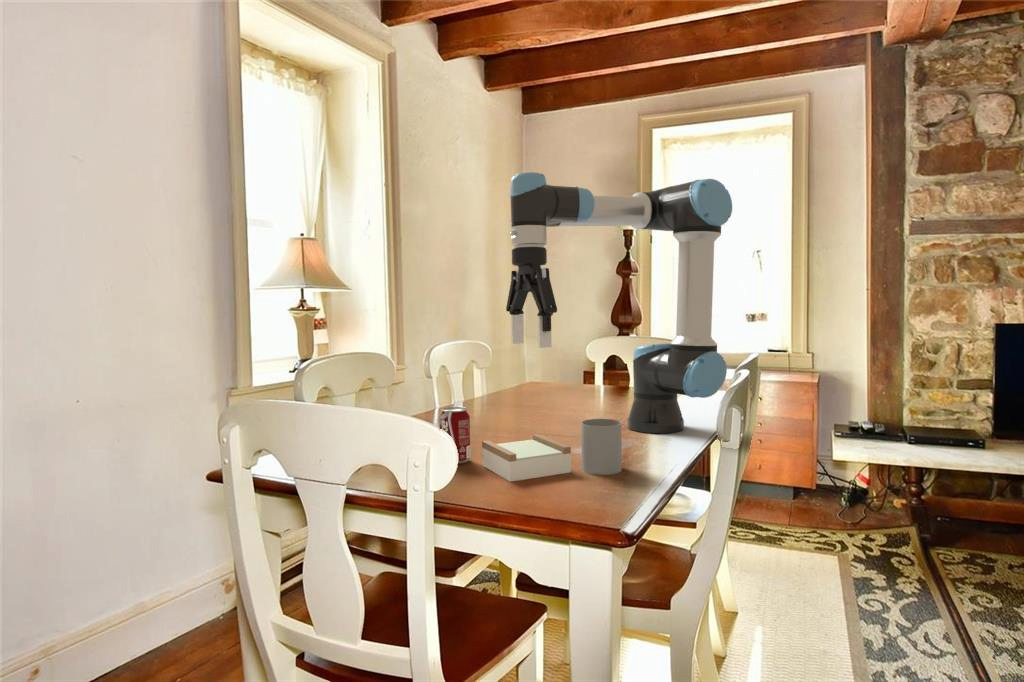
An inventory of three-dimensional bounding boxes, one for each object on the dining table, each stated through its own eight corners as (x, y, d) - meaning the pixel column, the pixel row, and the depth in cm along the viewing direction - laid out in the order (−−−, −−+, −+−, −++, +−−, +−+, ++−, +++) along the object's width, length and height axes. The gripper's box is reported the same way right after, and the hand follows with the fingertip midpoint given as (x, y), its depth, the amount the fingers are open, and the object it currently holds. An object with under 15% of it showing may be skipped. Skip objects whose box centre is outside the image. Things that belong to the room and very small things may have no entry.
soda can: (475, 459, 146) (474, 406, 145) (463, 466, 140) (462, 412, 139) (448, 457, 148) (446, 405, 147) (435, 464, 142) (433, 410, 141)
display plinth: (539, 457, 146) (538, 434, 146) (570, 472, 134) (570, 446, 133) (482, 465, 140) (481, 441, 140) (509, 481, 128) (509, 454, 127)
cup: (620, 475, 131) (620, 427, 130) (580, 474, 132) (579, 426, 132) (622, 464, 139) (621, 419, 138) (584, 463, 141) (583, 418, 140)
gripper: (490, 250, 148) (492, 342, 150) (539, 241, 126) (541, 350, 127) (520, 251, 151) (521, 341, 153) (573, 242, 129) (574, 348, 130)
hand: (530, 345), depth 140 cm, fingers open, 13 cm apart
